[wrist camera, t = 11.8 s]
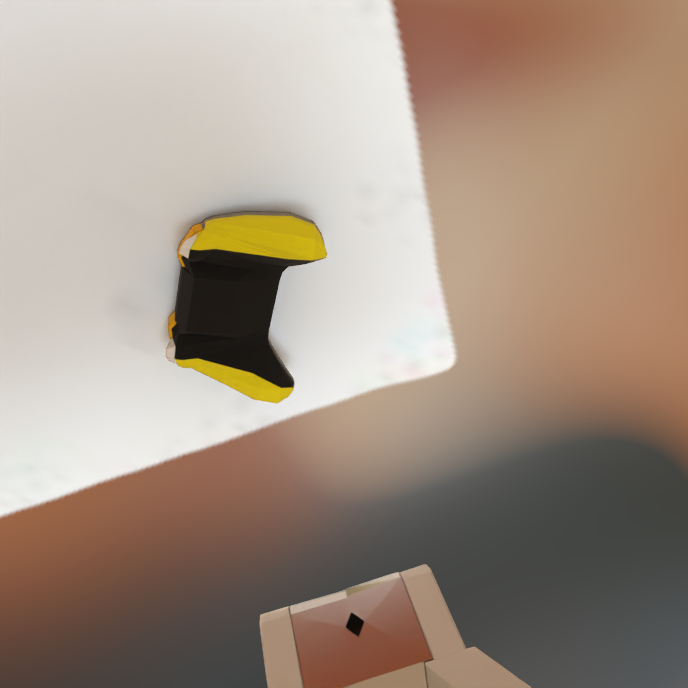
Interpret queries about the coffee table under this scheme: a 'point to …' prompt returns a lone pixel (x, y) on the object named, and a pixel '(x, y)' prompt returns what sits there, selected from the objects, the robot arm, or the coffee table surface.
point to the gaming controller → (237, 297)
